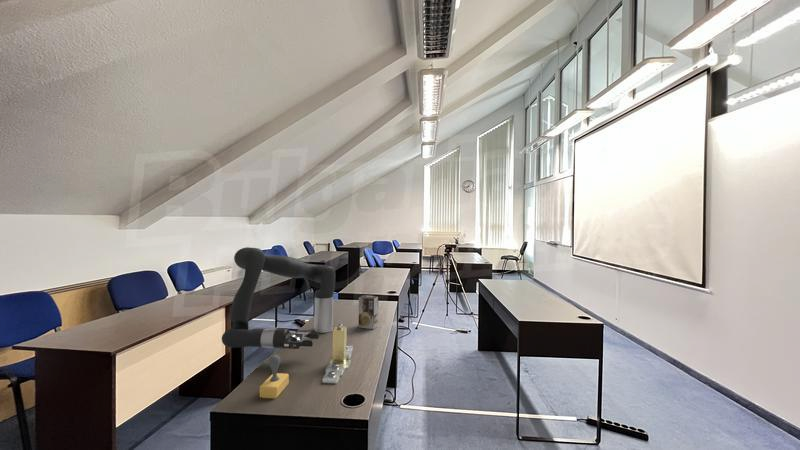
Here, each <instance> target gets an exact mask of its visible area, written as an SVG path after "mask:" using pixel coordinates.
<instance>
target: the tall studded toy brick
mask: <svg viewBox="0 0 800 450" xmlns="http://www.w3.org/2000/svg"><path fill="white" fill-rule="evenodd" d="M347 328H348V327H347V326H343V323H339V324H338V325H337V326H335V327H333V330H332V358H331V360H332V364H334V363H337V364H345V363H346V345H347V338H348V337H347V334H348V333H347V332H348V331H347V330H348V329H347Z"/></svg>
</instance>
